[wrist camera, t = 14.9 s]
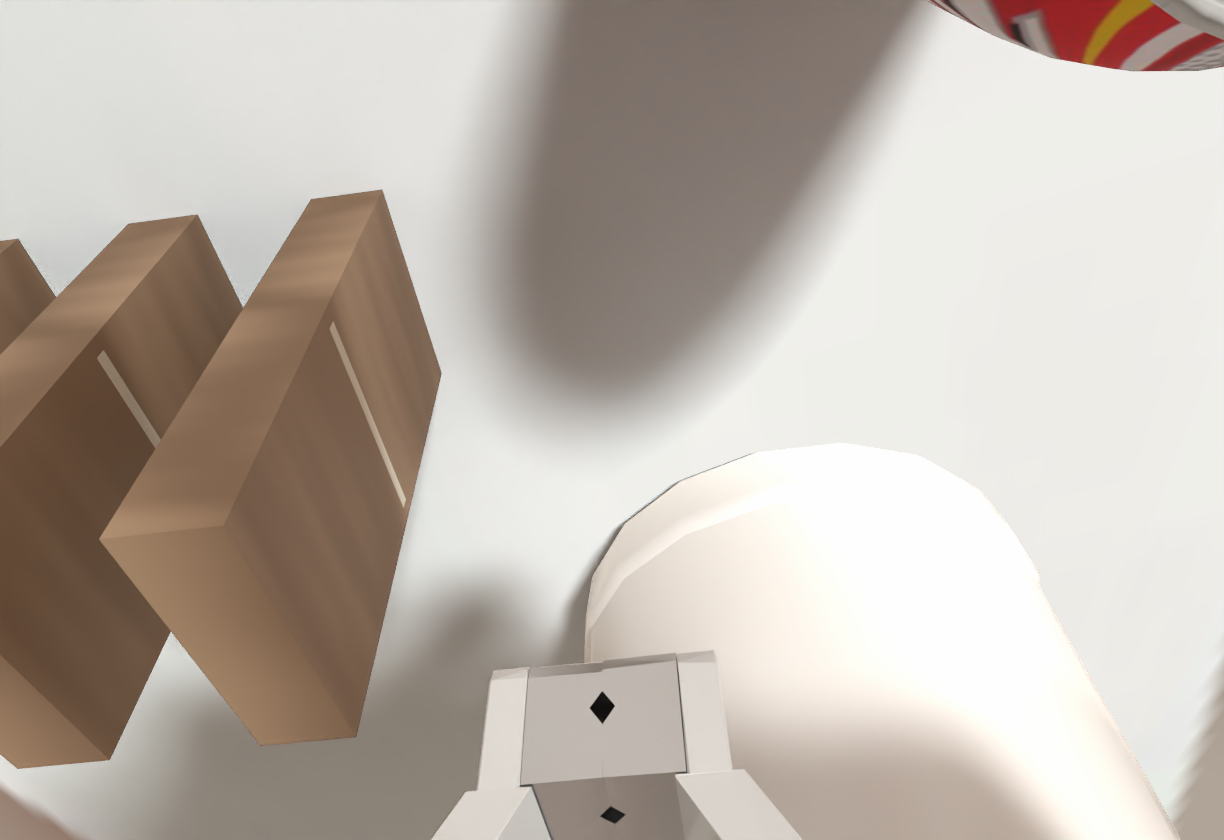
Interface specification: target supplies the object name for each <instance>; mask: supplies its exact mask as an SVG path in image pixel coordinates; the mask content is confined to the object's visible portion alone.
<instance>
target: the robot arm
mask: <svg viewBox="0 0 1224 840" xmlns="http://www.w3.org/2000/svg"><path fill="white" fill-rule="evenodd" d="M677 662H678V664H677ZM678 671H679V672H678ZM430 840H803V839H802V838H801V837H800V836H799V835H798V833H797V832H796V831H795V830H794V828H793V827H792V826H791V825H790V824H789V822H788V821H787V820H786V819H785V818H784V816H783V815H782V814H781V813H780V812H779V810H778V809H777V808H776V807H775V806H774V804H773V803H772V802H771V801H770V799H769V798H768V797H767V796H766V795H765V793H764V792H763V791H762V790H761V789H760V787H759V786H758V785H757V784H756V783H755V781H754V780H753V779H752V778H751V776H750V775H749V774H748V773H747V772H746V770H745V769H733V768H732V761H731V754H730V747H729V740H728V733H727V726H726V719H725V711H724V704H723V697H722V690H721V683H720V676H719V669H718V662H717V657H716V654H715V651H714V650H707V651H698V652H689V653H680V654H677V656H676V653H668V654H659V655H649V656H640V657H631V658H622V659H612V660H604V661H603V662H590V663H578V664H565V665H553V666H540V667H523V668H512V669H502V670H494V671H493V673H492V676H491V679H490V681H489V686H488V695H487V703H486V711H485V720H484V728H483V736H482V745H481V753H480V761H479V770H478V778H477V786H476V790H473V791H465V792H464V794H463V795H462V796H461V798H460V799H459V801H458V802H457V803H456V805H455V806H454V807H453V809H452V810H451V812H450V813H449V814H448V816H447V817H446V818H445V820H444V821H443V823H442V824H441V825H440V827H439V828H438V829H437V831H436V832H435V834H434V835H433V836H432V838H431V839H430Z"/></svg>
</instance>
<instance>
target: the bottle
mask: <svg viewBox="0 0 1224 840" xmlns="http://www.w3.org/2000/svg"><path fill="white" fill-rule="evenodd" d="M1039 580H1040V577H1039V572H1038V570H1037V568H1036V567H1035V565H1034V564H1033V562H1032V560H1031V559H1030V557H1029V556H1028V554H1027V553H1026V551H1025V550H1024V548H1023V547H1022V545H1021V544H1020V542H1019V541H1018V539H1017V538H1016V536H1015V534H1014V533H1013V531H1012V530H1011V528H1010V527H1009V525H1008V524H1007V522H1006V521H1005V520H1004V519H1003V517H1002V516H1001V515H1000V514H999V512H998V511H997V510H996V509H995V508H994V506H993V505H992V504H991V503H990V501H989V500H988V499H987V498H986V497H985V495H984V494H983V493H982V492H981V490H980V489H978V488H976V487H975V486H973V485H971V484H969V483H967V482H966V481H964V480H962V479H960V478H959V477H957V476H955V475H953V474H951V473H950V472H948V471H946V470H944V469H942V468H941V467H939V466H937V465H935V464H934V463H932V462H930V461H928V460H926V459H925V458H923V457H921V456H919V455H915V454H909V453H902V452H896V451H890V450H884V449H878V448H871V447H865V446H859V445H853V444H847V443H834V444H825V445H816V446H807V447H798V448H789V449H779V450H770V451H761V452H756V453H753V454H750V455H748V456H745V457H743V458H740V459H737V460H735V461H732V462H729V463H727V464H724V465H722V466H719V467H716V468H714V469H711V470H708V471H706V472H703V473H701V474H698V475H695V476H693V477H690V478H687V479H685V480H682V481H680V482H679V483H678V484H676V485H675V486H674V487H672V488H671V489H670V490H668V491H667V492H666V493H664V494H663V495H662V496H660V497H659V498H658V499H656V500H655V501H654V502H652V503H651V504H650V505H649V506H647V507H646V508H645V509H643V510H642V511H641V512H639V513H638V514H637V515H635V516H634V517H633V518H631V519H630V520H629V521H627V522H626V523H625V524H624V526H623V527H622V529H621V530H620V532H619V534H618V535H617V537H616V539H615V540H614V542H613V543H612V545H611V547H610V548H609V550H608V551H607V553H606V555H605V556H604V558H603V559H602V561H601V563H600V564H599V566H598V568H597V569H596V571H595V573H594V574H593V576H592V582H591V588H590V594H589V599H588V605H587V611H586V628H585V650H584V663H590V662H603V661H604V660H612V659H622V658H631V657H640V656H649V655H659V654H668V653H676V656H677V654H680V653H689V652H698V651H707V650H714V651H715V654H716V657H717V662H718V669H719V676H720V683H721V690H722V697H723V704H724V711H725V719H726V726H727V733H728V740H729V747H730V754H731V761H732V768H733V769H745V770H746V772H747V773H748V774H749V775H750V776H751V778H752V779H753V780H754V781H755V783H756V784H757V785H758V786H759V787H760V789H761V790H762V791H763V792H764V793H765V795H766V796H767V797H768V798H769V799H770V801H771V802H772V803H773V804H774V806H775V807H776V808H777V809H778V810H779V812H780V813H781V814H782V815H783V816H784V818H785V819H786V820H787V821H788V822H789V824H790V825H791V826H792V827H793V828H794V830H795V831H796V832H797V833H798V835H799V836H800V837H801V838H802V839H803V840H1181V839H1180V837H1179V835H1178V833H1177V832H1176V830H1175V828H1174V826H1173V824H1172V823H1171V821H1170V819H1169V817H1168V815H1167V813H1166V812H1165V810H1164V808H1163V806H1162V804H1161V802H1160V801H1159V799H1158V797H1157V795H1156V793H1155V792H1154V790H1153V788H1152V786H1151V784H1150V782H1149V781H1148V779H1147V777H1146V775H1145V774H1144V772H1143V770H1142V768H1141V766H1140V765H1139V763H1138V761H1137V759H1136V757H1135V756H1134V754H1133V752H1132V750H1131V749H1130V747H1129V745H1128V743H1127V741H1126V740H1125V738H1124V736H1123V734H1122V733H1121V731H1120V729H1119V727H1118V725H1117V724H1116V722H1115V720H1114V718H1113V716H1112V715H1111V713H1110V711H1109V709H1108V708H1107V706H1106V704H1105V702H1104V700H1103V699H1102V697H1101V695H1100V693H1099V692H1098V690H1097V688H1096V686H1095V684H1094V683H1093V681H1092V679H1091V677H1090V676H1089V674H1088V672H1087V670H1086V668H1085V667H1084V665H1083V663H1082V661H1081V660H1080V658H1079V656H1078V654H1077V652H1076V651H1075V649H1074V647H1073V645H1072V644H1071V642H1070V640H1069V638H1068V637H1067V635H1066V633H1065V631H1064V629H1063V627H1062V626H1061V624H1060V622H1059V620H1058V618H1057V617H1056V615H1055V613H1054V611H1053V609H1052V608H1051V606H1050V604H1049V602H1048V600H1047V599H1046V597H1045V595H1044V593H1043V591H1042V590H1041V588H1040V586H1039ZM677 664H678V662H677ZM678 672H679V671H678Z"/></svg>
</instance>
